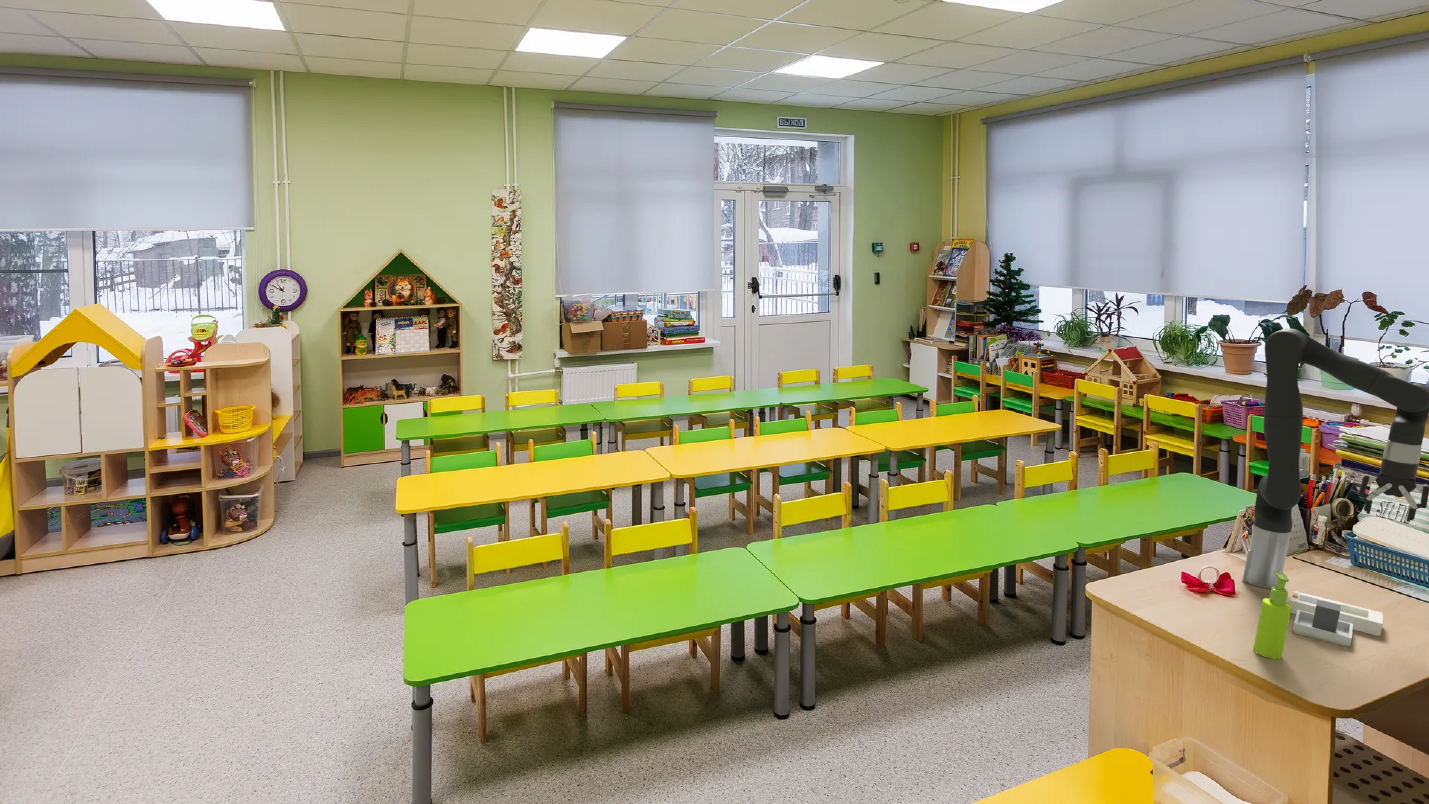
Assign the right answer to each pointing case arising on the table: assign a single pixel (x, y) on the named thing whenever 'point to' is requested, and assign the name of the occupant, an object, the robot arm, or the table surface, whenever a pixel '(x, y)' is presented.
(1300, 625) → the tray
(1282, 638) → the soap dispenser
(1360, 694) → the table surface
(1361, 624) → the power strip
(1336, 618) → the block
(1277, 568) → the robot arm
